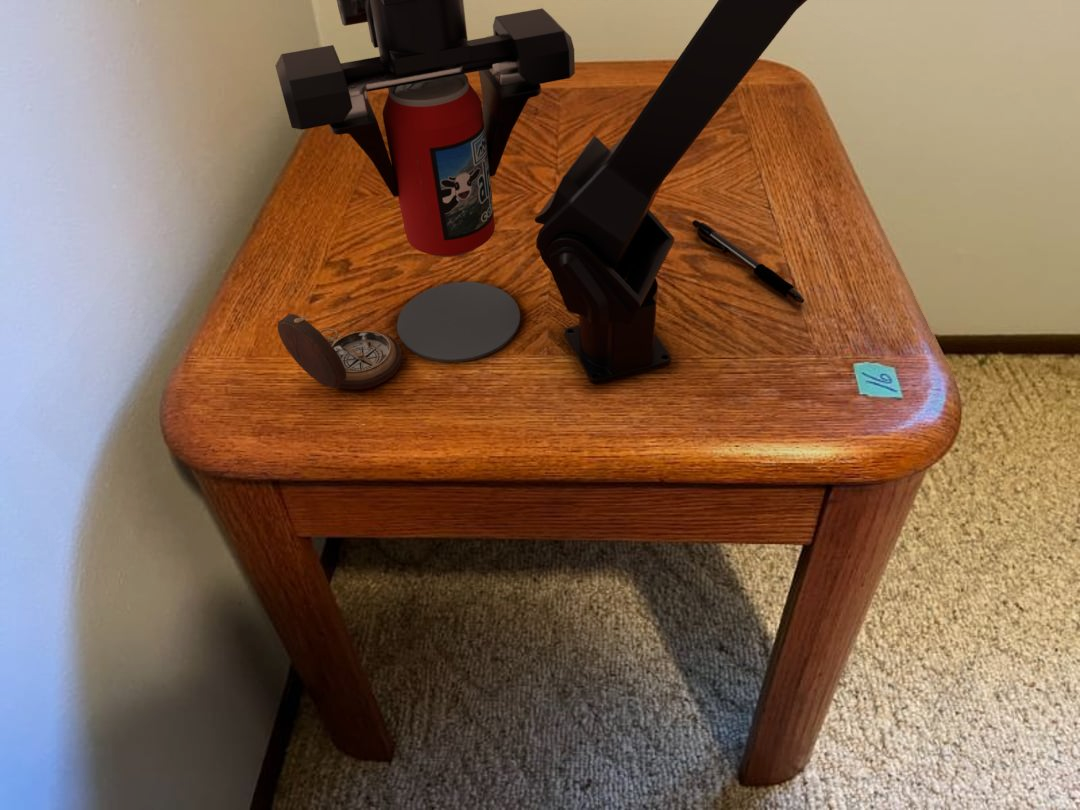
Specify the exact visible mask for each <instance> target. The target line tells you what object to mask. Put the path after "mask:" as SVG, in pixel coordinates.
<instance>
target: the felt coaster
mask: <svg viewBox="0 0 1080 810" xmlns="http://www.w3.org/2000/svg"><path fill="white" fill-rule="evenodd" d="M520 324H521V311H520V308H519V305H518V303H517V302H516V301H515V299H514V298H513V297H512V296H511V295H510V294H509V293H508V292H506V291H504V290H503V289H501V288H498V287H497V286H494V285H491V284H487V283H482V282H476V281H456V282H455V281H454V282H449V283H444V284H440V285H437V286H434V287H430V288H428V289H427V290H424V291H422V292H420V293H419V294H417V295H415V296H414V297H412V298H411V299H410V300H409V301H408V302H407V303H406V304H405V305H404V306H403V308H402V309H401V311H400V312H399V315H398V317H397V323H396V330H397V334H398V338H399V340H400V342H401V343H402V344H403V346H404V347H405V348H406V349H408V351H410V352H411V353H413V354H415V355H417V356H419V357H422V358H423V359H425V360H430V361H434V362H441V363H461V362H463V363H464V362H470V361H474V360H479V359H481V358H484V357H486V356H489V355H492V354H494V353H496V352H497V351H499V350H501V349H502V348H503V347H506V345H507V344H508V343H510V341H511V340H512V339H513V338H514V337H515V335H516V334H517V332H518V330H519V328H520Z"/></svg>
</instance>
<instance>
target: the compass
mask: <svg viewBox="0 0 1080 810" xmlns="http://www.w3.org/2000/svg"><path fill="white" fill-rule="evenodd" d="M308 317H309V313H308V312H306V315H302V316H299V315H297V314H294V313H288V314H287V315H285V316H284V317H283V318H281V320H278V322H277V331H278V335H279V338H280V340H281V342H282V344H283V346H284V348H285V349H286V350H287V352H288V353H289V355H290V356H291V357H292V358H293V360H294V361H295V362H296V363H297V364H298V365H299V366H300V368H301V369H302V370H303V371H304V372H306V374H308V375H309V376H310V377H311V378H312V379H314V380H315V381H316V382H318V383H319V384H321V385H323V386H325V387H329V388H333V389H336V388H337V387H338V388H341V389H346V390H364V389H368V388H373V387H376V386H378V385H381V383H385V382H386V381H387V380H389V379H390V378H392V377H394V375H395V374H396V373H397V371H398V370H399V369H400V366H401V363H402V361H403V357H402V356H403V355H402V349H401V346H400V345H399V343H398V341H397V340H396V339H395V338H393V336H392V335H389V334H386V333H384V332H382V331H373V330H360V331H354V332H350V333H347V334H346V335H343V336H341V337H339V332H338V331H337V330H336V329H334V328H323V329H321V330H318V329H317V327H315V326H313V325H312V323H310V322H309V321H307V320H306V319H307V318H308ZM327 331H332V332H334V333H335V336H334V335H329V336H328V337H327V338H326V337H325V336H324V335H323V334H322V333H323V332H327Z"/></svg>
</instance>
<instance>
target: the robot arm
mask: <svg viewBox="0 0 1080 810" xmlns="http://www.w3.org/2000/svg"><path fill="white" fill-rule="evenodd" d="M807 1H808V0H717V1H716V3H715V4H714V6H713V7H712V8H711V10H710V11H709V13H708V14H707V16H706V17H705V18H704V20H703V22H702V23H701V25H700V26H699V27H698V29H697V30H696V32H695V33H694V35H693V36H692V38H691V39H690V40H689V42H688V43H687V45H686V46H685V48H684V49H683V51H682V52H681V54H680V55H679V57H678V58H677V60H676V61H675V62H674V64H673V66H671V68H670V69H669V71H668V72H667V74H666V76H665V77H664V78H663V80H662V81H661V82H660V84H659V86H658V87H657V89H656V90H655V91H654V92H653V94H652V96H651V97H650V99H649V100H648V102H647V103H646V104H645V106H644V107H643V109H642V110H641V112H640V113H639V114H638V116H637V117H636V119H635V120H634V122H633V124H632V125H631V126H630V128H629V129H628V131H627V132H626V133H625V134H624V135H623V137H622V138H620V139H619V140H618V141H616V142H615V143H614V144H613V145H612V146H610V147H609V148H608V147H607V146H606V145H605V144H604V142H602V141H601V140H600V139H599V138H598V137H597V136H596V135H593V136H592V137H591V138H590V140H589V141H588V142H587V144H586V145H585V147H584V148H583V150H582V151H581V152H580V153H579V155H578V156H577V157H576V159H575V161H573V163H572V164H571V165H570V167H569V168H568V170H567V171H566V172H565V173H564V174H563V176H562V178H561V180H560V182H559V184H558V186H557V188H556V190H554V192H553V194H552V195H551V196H550V197H549V199H548V200H547V201H546V203H545V204H544V206H543V207H542V209H541V210H540V211H539V213H538V214H537V215H536V217H535V218H534V222H535V223H536V224H541V225H542V227H541V228H540V229H539V231H538V233H537V236H536V241H535V247H536V249H537V251H538V252H539V255H540V259H541V260H542V262H543V263H544V264H545V266H546V267H547V269H548V270H549V272H550V273H551V275H552V277H553V280H554V282H555V285H556V287H557V289H558V292H559V294H560V296H561V298H562V301H563V303H564V306H565V308H566V310H567V312H568V313H570V314H573V315H578V325H573V326H570V327H566V328H565V329H564V331H563V333H564V338H565V340H566V342H567V343H568V345H569V347H570V348H571V351H572V352H573V354H574V356H575V357H576V359H577V361H578V363H579V365H580V366H581V368H582V370H583V372H584V374H585V375H586V377H587V378H588V380H589V382H590V383H591V384H593V385H600V384H603V383H607V382H611V381H614V380H619V379H622V378H626V377H629V376H633V375H637V374H641V373H645V372H648V371H652V370H655V369H659V368H663V367H666V366H669V365H670V364H671V363H672V356H671V354H670V352H669V351H668V350H667V348H666V347H665V345H664V344H663V343H662V341H661V340H660V338H659V337H658V336H657V334H656V319H657V304H658V303H657V302H658V289H659V288H658V287H659V286H658V285H659V284H658V280H657V278H656V277H657V276H658V274H659V272H660V270H661V268H662V266H663V264H664V263H665V260H666V259H667V256H668V255H669V253H670V251H671V248H672V247H673V245H674V243H675V240H676V239H675V237H674V235H672V233H671V232H670V231H669V230H668V229H667V228H666V227H665V226H664V224H663V223H662V222H661V221H660V220H659V219H658V217H656V216H655V214H654V213H653V212H652V211H651V210H650V209H651V207H652V205H653V203H654V201H655V199H656V197H657V195H658V193H659V191H660V189H661V186H662V184H663V182H664V181H665V180H666V179H667V177H668V175H669V174H670V173H671V172H672V170H673V169H674V168H675V167H676V165H677V164H678V162H679V161H680V160H681V159H682V158H683V156H684V155H685V154H686V152H687V151H688V150H689V149H690V148H691V146H692V145H693V144H694V143H695V141H696V140H697V138H698V137H699V136H700V134H702V132H703V131H704V129H705V128H706V127H707V125H709V123H710V121H711V120H712V119H713V118H714V116H715V115H716V114H717V113H718V111H719V110H720V109H721V107H722V106H723V105H724V104H725V102H726V101H727V100H728V98H729V97H731V95H732V94H733V92H734V91H735V89H736V88H737V87H738V86H739V85H740V83H741V82H742V80H743V79H744V78H745V77H746V75H748V73H749V71H750V70H751V69H752V68H753V66H754V65H755V64H756V63H757V61H758V60H759V59H760V57H761V56H762V55H763V54H764V52H765V51H766V50H767V48H768V47H769V46H770V44H771V43H772V42H773V41H774V40H775V38H776V37H777V35H778V34H779V33H780V31H781V30H782V29H783V28H784V26H785V25H786V24H787V23H788V22H789V20H790V19H791V17H792V16H793V15H794V14H795V12H796V11H798V9H799V8H800V7H801V6H803V5H804V4H805V3H806V2H807ZM336 3H337V8H338V12H339V17H340V20H341V23H342V25H343V26H344V27H347V26H353V25H358V24H364V23H367V26H368V31H369V38H370V42H371V44H372V45H373V47H374V49H378V53H379V56H375V57H369V58H363V59H358V60H353V61H352V60H351V61H347V62H341V61H340V58H339V56H338V52H337V50H336V48H335V46H334V44H330V45H326V46H319V47H313V48H309V49H301V50H297V51H291V52H286V53H281V54H280V55H279V58H278V60H277V61H276V64H275V65H274V66H275V70H276V74H277V78H278V82H279V86H280V89H281V93H282V97H283V100H284V104H285V107H286V111H287V115H288V119H289V122H290V126H291V129H296V130H300V131H301V130H302V131H304V130H307V129H308V130H309V129H314V128H318V127H323V126H329V128H330V131H331V133H332V134H334V135H338V136H341V135H345V134H347V135H349V136H350V137H351V138H352V139H353V140H354V141H355V143H356V144H357V145H358V146H359V148H360V149H361V150H362V151H363V152H364V153H365V155H367V157H368V158H369V159H370V161H371V162H372V164H373V165H374V167H375V169H376V170H377V172H378V173H379V175H380V177H381V178H382V180H383V182H384V184H385V185H386V187H387V188H388V190H389V192H390V194H391V195H392V196H393V198H396V197H397V198H398V196H399V191H398V184H397V179H396V176H395V173H394V170H393V167H392V163H391V158H390V154H389V151H388V149H387V147H386V143H385V140H384V137H383V135H382V132H381V128H380V126H379V122H378V119H377V117H376V114H375V112H374V110H373V108H372V105H371V103H370V101H369V97H368V92H373V91H379V90H384V89H385V90H386V89H388V88H390V87H396V86H401V85H406V84H412V83H417V82H422V81H428V80H433V79H438V78H444V77H449V76H455V75H460V74H465V75H466V74H469V73H475V72H478V76H479V84H480V88H481V96H482V97H481V98H482V99H481V104H482V112H483V120H484V128H485V136H486V145H487V154H488V163H489V172H490V178H492V177H495V176H496V174H497V171H498V168H499V166H500V163H501V160H502V157H503V155H504V152H505V150H506V147H507V144H508V142H509V139H510V137H511V134H512V132H513V130H514V128H515V125H516V124H517V122H518V119H519V118H520V117H521V114H522V112H523V110H524V108H525V106H526V104H527V103H528V101H529V100H530V99H531V98H534V97H535V98H536V97H539V96H540V95H541V93H542V85H541V84H547V83H552V82H557V81H563V80H568V79H571V78H572V77H573V76H574V75H576V68H575V67H576V66H575V64H576V62H575V61H576V60H575V47H574V42H573V39H572V37H571V35H570V34H569V33H568V32H567V31H566V29H564V28H563V27H562V26H561V25H560V23H559V22H557V20H555V18H554V17H553V16H552V15H550V13H548V12H547V11H546V10H545V9H544V8H543V7H541V8H536V9H530V10H525V11H520V12H519V11H518V12H513V13H508V14H502V15H497V16H495V17H494V19H493V24H492V32H493V35H487V36H484V37H481V38H480V37H479V38H474V39H468V30H467V21H466V13H465V4H464V3H465V1H464V0H336Z"/></svg>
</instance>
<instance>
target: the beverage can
mask: <svg viewBox="0 0 1080 810" xmlns="http://www.w3.org/2000/svg"><path fill="white" fill-rule="evenodd" d="M387 91H388V94H387V97H386V100H385V102H384V105H383V109H382V120H383V125H384V131H385V136H386V137H385V138H386V142H387V146H388V154H389V158H390V161H391V164H392V167H393V170H394V173H395V176H396V179H397V184H398V191H399V196H397V198H398V203H399V208H400V214H401V217H402V221H403V222H402V223H403V227H404V232H405V236H406V240H407V242H408V243H409V245H410V246H411V247H412V248H414V249H415V250H417V251H419V252H420V253H424V254H426V255H431V256H435V257H439V258H455V257H460V256H464V255H467V254H469V253H471V252H473V251H475V250H477V249H478V248H480V247H482V246H483V245H484V244H486V243H487V242H488V241H489V240H490V239H491V238H492V237H493V235H494V232H495V231H496V222H495V212H494V202H493V191H492V183H491V177H490V172H489V163H488V154H487V145H486V136H485V128H484V120H483V106H482V99H481V98H480V96H479V95H478V94H477V92H476V91H475V89H474V88H473V86H472V85H471V84H470V80H469V77H468V76H467V74H466V73H465V74H460V75H455V76H449V77H444V78H438V79H433V80H428V81H422V82H417V83H412V84H406V85H401V86H396V87H390V88H387Z"/></svg>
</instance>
